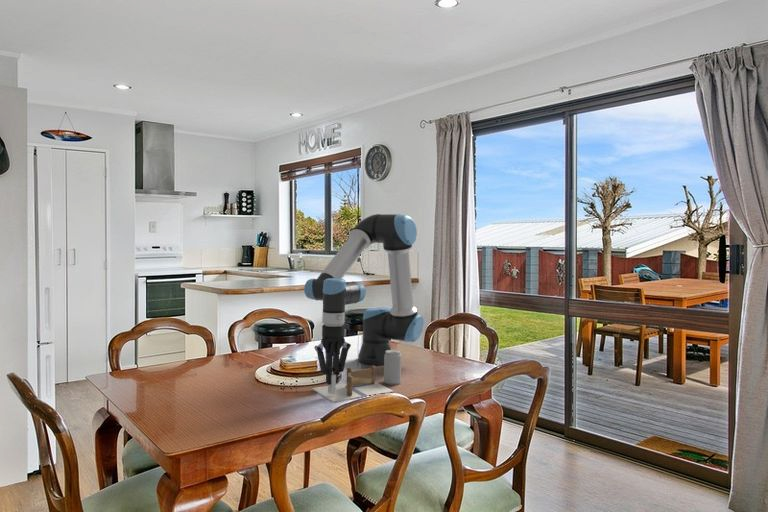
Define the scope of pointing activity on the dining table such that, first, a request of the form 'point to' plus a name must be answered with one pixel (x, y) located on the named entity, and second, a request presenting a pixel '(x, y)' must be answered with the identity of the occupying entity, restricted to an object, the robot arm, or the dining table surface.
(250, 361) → the dining table surface
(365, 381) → the fence fixed
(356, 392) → the card
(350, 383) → the fence panel
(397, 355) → the beverage can
